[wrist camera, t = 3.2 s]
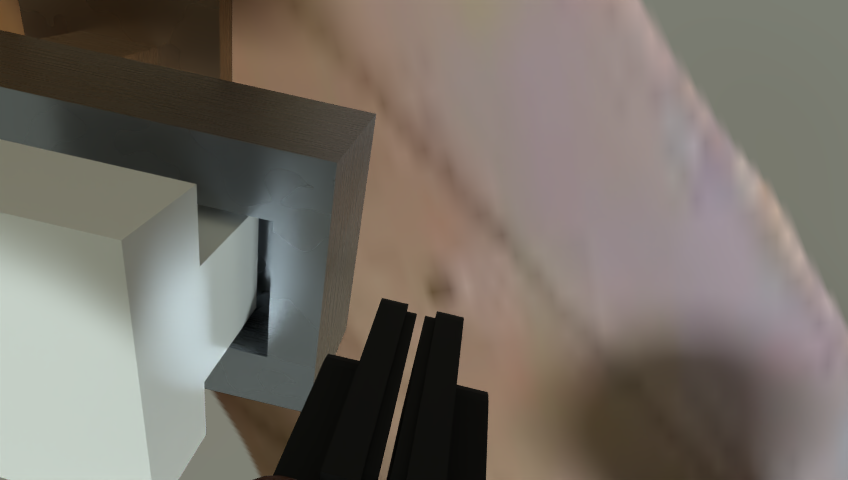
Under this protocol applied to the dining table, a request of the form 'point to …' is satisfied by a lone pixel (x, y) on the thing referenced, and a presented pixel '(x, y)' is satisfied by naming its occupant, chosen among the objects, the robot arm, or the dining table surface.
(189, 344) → the rider
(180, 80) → the balance beam
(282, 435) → the dining table surface
